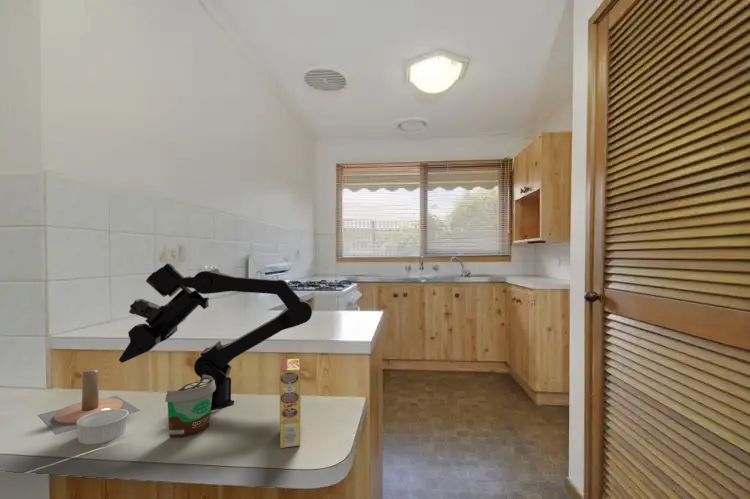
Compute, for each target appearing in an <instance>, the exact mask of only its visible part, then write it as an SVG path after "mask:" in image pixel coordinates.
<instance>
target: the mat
mask: <svg viewBox="0 0 750 499" xmlns="http://www.w3.org/2000/svg"><path fill="white" fill-rule="evenodd" d="M105 398H106V397H105ZM105 398H103V399H105ZM108 398H113V399H119V400H121V401H122V402H123V407H122V409H124V410H127V411H128V412H129V414H128V415H130V414H135V413H137V412H140V411H141V410H140V409H139V408H137V407H136V406H134V405H133V404H131V403H129V402H127V401H126V400H124V399H123V398H121V397H119V396H118V395H114V396H109V397H108ZM61 409H62V408H60V409H56V410H55V409H54V410H52V411H48V412H43V413H40V414H37V416H38V417H39V418H40V419H41V420H42V422H44V424H45V425H46V426H47V427H48V428H49V429H50V430H51V431H52V432H53V433H54V434H55V435H59V434H64V433H66V432H70V431H73V430H78V427H77V425H76V424H59V423H56V422H55V421H54V415H55V413H56V412H57V411H59V410H61Z"/></svg>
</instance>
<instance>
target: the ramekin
mask: <svg viewBox="0 0 750 499" xmlns="http://www.w3.org/2000/svg"><path fill="white" fill-rule="evenodd" d="M129 415H130V414H129V412H128V411H127V410H124V409H108V410H101V411H97V412H93V413H90V414H87V415H85V416H83V417H81V418H80V419H78V420H77V422H76V425H77V427H78V428H77V438H78V442H79V443H80V444H83V445H98V444H103V443H107V442H110V441H113V440H115V439H117V438H120V437H121V436H123V435H124V434H125V432H126V431H127V423H128V417H129Z"/></svg>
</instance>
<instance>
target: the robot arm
mask: <svg viewBox="0 0 750 499" xmlns="http://www.w3.org/2000/svg"><path fill="white" fill-rule="evenodd" d="M145 282H146V283H147V284H149V286H150V287H152V289H153V290H154V291H156V292H157V293H159V295H160V296H161V297H163V298H165V297H170V298H172V297H173V296H174V297H173V298H172V299H170V300H169V301H168V303H166V304H164V305H158V304H156V303H154V302H151V301H149V300H146V299H143V298H138V299H135V300H134V301H133V303H132V304H130V306H129V307H130V309H129V311H128V313H129V314H130V315H131V314H132V315H137V316H138V317H142V318H144V319H145V320H144V321H145V323H139V324H137V325H135V326H133V327H132V328H131V329H130V330H129V331H128V338H129V342H128V345H127V347H126V348H125V350H124V351H123V352H122V353H121V356H120V357H119V359H118V361H119V362H120V363H125V362H128V361H130V360H132V359H134V358H137V357H138V356H140V355H143V354H145V353H147V352H150V351H151V350H153V349H154V348H155V347H157V345H158V344H160V343H162V342H164V341H167V340H168V339H169V338H171V337H172V336H173V335H174V334H175V333H176V332H178V326H179V325H180V324H181V323H183V322H184V321H185V320H186V319H187V318H188V317H189V315H191V314H192V312H193V311H195V310H196V309H197V308H198V307H199V306H200V307H201V308H202V309H203V310H205V309H207V308H209V307H210V306H209V299H210V298H209V296H207V297H204V296H203V295H209V294H217V293H226V292H237V293H238V292H239V293H240V292H242V293H253V294H266V295H267V294H269V295H276V296H277V297H278V298H279V300H281V302H282V303H283V304H284V306H285V307H286V308H284V309H283V310H282V311H281V312H280V313H279V314H278V315H277V316H275V317H274V318H272V319H270V320H268V321H266V322H265V323H263V324H261V325H259V326H258V327H256V328H254V329H252V330H250V331H249V332H247V333H245V334H243V335H241V336H240V337H238V338H236V339H234V340H233V341H231V342H229V343H225V344H222V342H221V340H219V341H218V342H216V343H215V344H213V345H212V346H210V347H205V349H204V350H202V351H201V352H200V356H199V357H198V358H197V359H196V360H195V361H194V365H193V370H194V373H195V374H196V375H197V377H199V378H200V380H201V379H202V375H208V376H211V377H213V380H214V381H215V385H216V390H215V391H214V392H213V393H212V403H211V411H212V410H213V411H215V410H217V409H221V408H224V407H226V406H229V405H232V404H235V400H233V399H232V377H229V375H230V373H231V371H232V366H231V365H230V364H229V363H230V362H231V361H232V360H234V359H235V358H237V357H239V356H240V355H242V354H244V353H245V352H247V351H249V350H250V349H252V348H254V347H255V346H258V345H259V344H261V343H263V342H265V341H266V340H267V339H270V338H271V337H273V336H275V335H276V334H279V333H280V332H282V331H284V330H288V329H291V328H294V327H297V326H301V325H303V324H305V323H307V322H308V321H310V319H311V318H312V315H313V310H312V307H311V304H310V303H309V302H308V301H307V300H305V299H302V298H300V297H299V296H298V295H297V293H296V292H295V291H294V290H293V288H291V287H290V286H289V284H288V282H287V281H286V280H284V279H265V278H255V277H254V278H252V277H242V276H241V277H240V276H239V277H238V276H233V275H229V274H226V273H222V272H218V271H214V270H204V271H199V272H197V273H196V274H195V275H194V276H191V275H189V276H185V277H184V276H183V274H181V273H180V272H179V271H178V270H177V269H176V268H175V266H174V265H172V264H171V263H166V264H165V265H164V266H162V267H160V268H159V269H157V270H155V271H153V272H152V273H151V274H150V275H149V276H148V277H147V278H146V280H145ZM191 289H194V290H191ZM176 293H177V294H176ZM175 294H176V295H175ZM202 294H203V295H202Z"/></svg>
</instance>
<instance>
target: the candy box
mask: <svg viewBox="0 0 750 499" xmlns="http://www.w3.org/2000/svg"><path fill="white" fill-rule="evenodd" d="M280 361H281V362H280V371H279V375H280V376H279V439H280V440H279V443H280V444H279V447H280V449H282V448H283V449H284V448H290V447H300V446H301V425H302V424H301V421H302V420H301V417H302V414H301V412H302V411H301V409H302V408H301V407H302V406H301V401H302V400H301V399H302V396H301V391H302V389H301V385H302V382H301V381H302V380H301V364H300V358H289V359H287V358H285V359H281V360H280Z"/></svg>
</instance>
